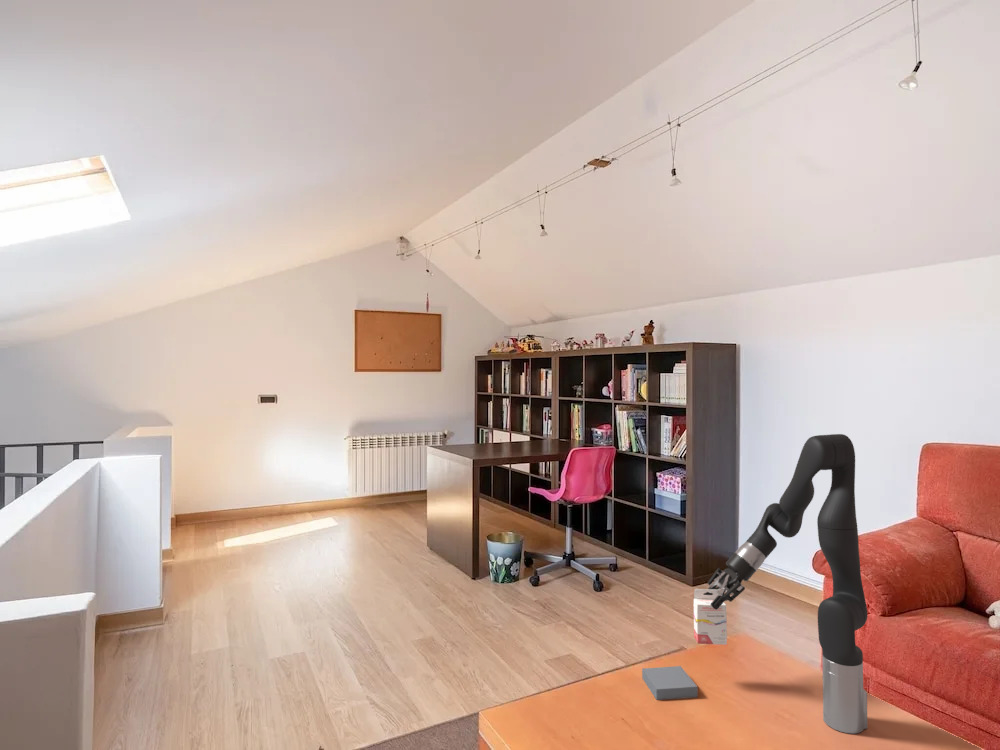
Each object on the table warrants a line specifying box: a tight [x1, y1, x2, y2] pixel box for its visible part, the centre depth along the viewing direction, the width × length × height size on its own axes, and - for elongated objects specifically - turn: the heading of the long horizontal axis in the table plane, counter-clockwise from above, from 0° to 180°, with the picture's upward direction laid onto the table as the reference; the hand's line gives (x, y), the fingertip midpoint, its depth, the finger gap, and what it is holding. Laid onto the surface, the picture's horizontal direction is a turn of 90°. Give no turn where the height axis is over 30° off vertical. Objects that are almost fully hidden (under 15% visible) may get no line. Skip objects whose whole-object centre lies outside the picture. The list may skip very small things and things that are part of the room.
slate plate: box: [641, 665, 699, 701], centre depth 176 cm, size 12×12×3 cm
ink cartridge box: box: [693, 588, 728, 646], centre depth 178 cm, size 9×5×15 cm, turn 84°
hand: (708, 603), depth 178 cm, fingers closed on ink cartridge box, 5 cm apart
